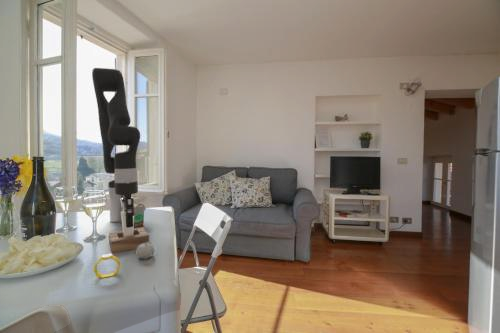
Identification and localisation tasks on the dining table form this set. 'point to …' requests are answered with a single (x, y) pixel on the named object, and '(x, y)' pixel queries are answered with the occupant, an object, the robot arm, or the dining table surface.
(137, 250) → the garlic
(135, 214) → the food container
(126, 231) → the white faceted vase
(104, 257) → the watch
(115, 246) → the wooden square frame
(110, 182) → the robot arm
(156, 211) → the dining table surface
